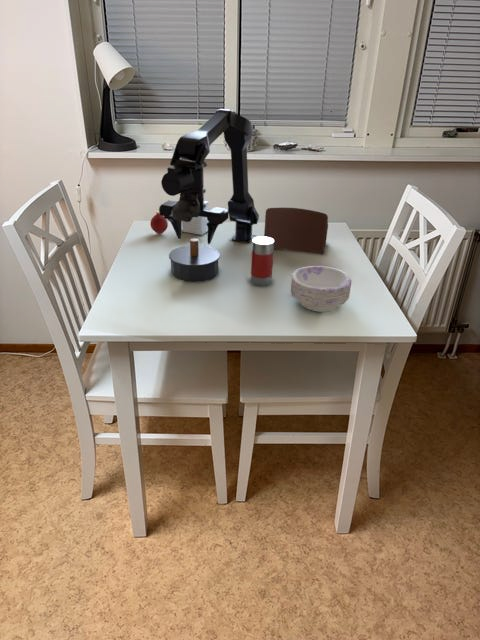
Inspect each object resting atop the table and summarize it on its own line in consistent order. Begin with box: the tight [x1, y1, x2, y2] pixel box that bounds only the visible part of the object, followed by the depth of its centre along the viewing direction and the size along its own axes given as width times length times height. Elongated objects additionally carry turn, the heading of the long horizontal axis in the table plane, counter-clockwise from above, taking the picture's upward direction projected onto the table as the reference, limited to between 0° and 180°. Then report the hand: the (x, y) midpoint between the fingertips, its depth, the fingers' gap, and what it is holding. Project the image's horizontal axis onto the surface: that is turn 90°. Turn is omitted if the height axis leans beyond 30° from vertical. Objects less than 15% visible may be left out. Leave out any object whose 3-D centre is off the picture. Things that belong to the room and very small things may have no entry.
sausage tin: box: [250, 236, 275, 287], centre depth 136 cm, size 6×6×12 cm
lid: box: [168, 237, 221, 267], centre depth 140 cm, size 15×15×6 cm
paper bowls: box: [290, 265, 352, 313], centre depth 127 cm, size 15×15×8 cm
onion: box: [149, 211, 169, 235], centre depth 167 cm, size 6×6×8 cm
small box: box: [182, 200, 210, 236], centre depth 170 cm, size 8×6×10 cm
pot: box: [170, 260, 219, 283], centre depth 142 cm, size 14×14×5 cm
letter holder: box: [263, 207, 329, 255], centre depth 160 cm, size 10×20×14 cm, turn 76°
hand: (194, 241), depth 139 cm, fingers open, 9 cm apart
